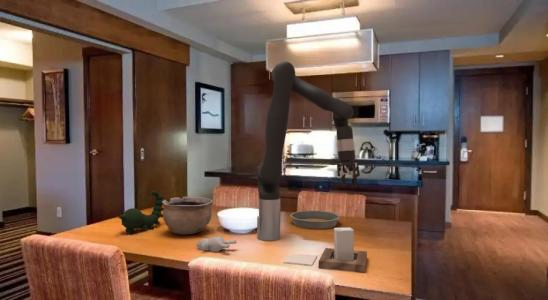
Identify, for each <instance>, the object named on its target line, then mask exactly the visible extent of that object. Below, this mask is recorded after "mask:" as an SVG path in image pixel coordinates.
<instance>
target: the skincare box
mask: <svg viewBox="0 0 548 300" xmlns="http://www.w3.org/2000/svg"><path fill="white" fill-rule="evenodd" d="M354 231H355V230H354V229H353V228H352V227H333V243H334V244H333V249H334V258H333V259H336V260H347V261H354V250H355V240H354V239H355V237H354V235H355V234H354Z"/></svg>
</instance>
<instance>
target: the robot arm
mask: <svg viewBox="0 0 548 300" xmlns="http://www.w3.org/2000/svg"><path fill="white" fill-rule="evenodd" d="M270 76H271V79H272V81H273V83H274V84H273V91H272V92H273V93H272V97H271V100H270V103H269V107H268V110H267V113H266V119H265V128H264V135H265V136H264V139H265V140H264V141H265V153H264V157H263V161H262V162H261V163H260V164H259V166H258V169H257V191H258V192H257V194H258V215H257V216H256V217H257V219H256V220H257V222H256V225H257V226H256V228H257V229H256V230H257V232H256V236H257V237H256V239H257V240H261V241H272V242H273V241H277V240H280V238H281V191H280V186H279V185H280V182H279V181H280V179H281V177H282V173H283V154H284V153H283V152H284V146H285V143H286V136H287V135H286V134H287V131H288V130H287V129H288V123H289V116H290V115H289V114H290V105H291V104H290V103H291V93H292V92H294V93H296V94H297V95H299V96H301V97H303V98H304V99H306V100H308V101H309V102H310V103H312V104H313V105H315V106H316V107H318V108H320V109H322V110H323V111H326V112H330V113H332V120H333V124H334V128H335V131H336V140H337V141H336V150H337V160H338V162H340V163H336V175H337V177H339V178H340V185H341V187H342V188H344V187H347V178H346V177H347V175H349V176H350V178H351V181H350V182H351V187H352V188H357V187H358V179H357V178H359V177H361V175H360V165H359V162H354V161H356V159H357V158H356V150H355V148H356V147H355V141H354V132H353V127H352V126H350V124H349V121H348V120H350V119H351V118H352V117H353V115H354V108H353V106H351V105H350V103H347V102H346V101H343V100H341V99H340V98H336V97H334V96H332V95H331V94H329V93H328V92H326V91H325V90H323V89H322V88H320V87H317V86H315V85H313V84H311V83H309V82H307V81H305V80H303V79H301V78H299V76H297V75H296V69H295V66H294V65H293V64H292V63H291V62H289V61H287V60H286V61H280V62H279V63H277V64H276V65H275V66H274V67H273V69H272V70H271V75H270Z"/></svg>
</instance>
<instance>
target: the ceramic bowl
mask: <svg viewBox="0 0 548 300" xmlns="http://www.w3.org/2000/svg"><path fill="white" fill-rule="evenodd" d="M169 200H170V201H167V200H166V199H163V200H162V201H163V202H162V203H163V204H162V206H163V208H164V210H163V212H162V214H163V217H162V219H163V221H164V224H165V225H166V227H167V228H168V230H170V231H172V233H174V234H177V235H183V236H184V235H193V234H197V233H201V231H203V230H204V229H205V228H206V227H207V226H208V225H209V224H210V221H211V220H212V213H213V212H212V203H213V199H211V198H208V197H199V196H183V197H182V198H181V197H172V198H171V197H170V199H169Z"/></svg>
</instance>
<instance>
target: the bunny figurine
mask: <svg viewBox="0 0 548 300" xmlns="http://www.w3.org/2000/svg"><path fill="white" fill-rule="evenodd" d="M237 243H238V242H237V240H236V239H233V240H225V238H224V236H219V235H218V236H214V237H211V238H210V237H206V238H203V239H201V240H199V241H198V242H196V245H195V246H196V248H198V249H199V251H209V252H213V253H215V252H216V253H219V252H220V251H223V250H224V249H229V248H230V244H231V245H234V244H237Z"/></svg>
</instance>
